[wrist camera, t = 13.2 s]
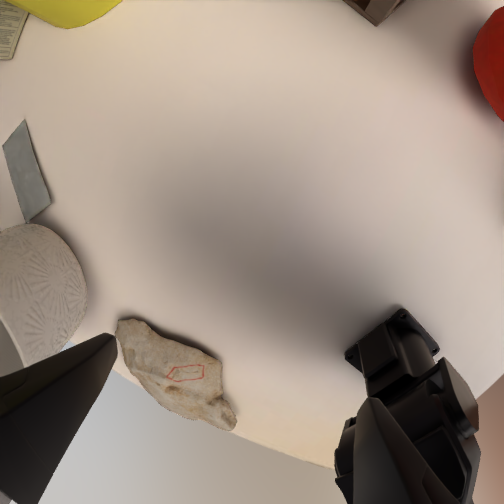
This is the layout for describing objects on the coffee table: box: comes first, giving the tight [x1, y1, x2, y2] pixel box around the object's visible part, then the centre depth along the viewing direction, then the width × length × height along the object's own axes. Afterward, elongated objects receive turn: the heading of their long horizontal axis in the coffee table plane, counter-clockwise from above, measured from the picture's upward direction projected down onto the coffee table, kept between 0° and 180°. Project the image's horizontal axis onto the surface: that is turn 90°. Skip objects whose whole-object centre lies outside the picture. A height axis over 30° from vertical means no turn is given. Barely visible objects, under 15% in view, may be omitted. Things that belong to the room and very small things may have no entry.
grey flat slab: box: [3, 119, 51, 223], centre depth 22 cm, size 9×5×1 cm, turn 22°
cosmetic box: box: [0, 0, 29, 59], centre depth 13 cm, size 6×4×12 cm
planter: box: [0, 224, 87, 377], centre depth 21 cm, size 12×12×11 cm
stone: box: [115, 318, 237, 431], centre depth 27 cm, size 13×11×3 cm
